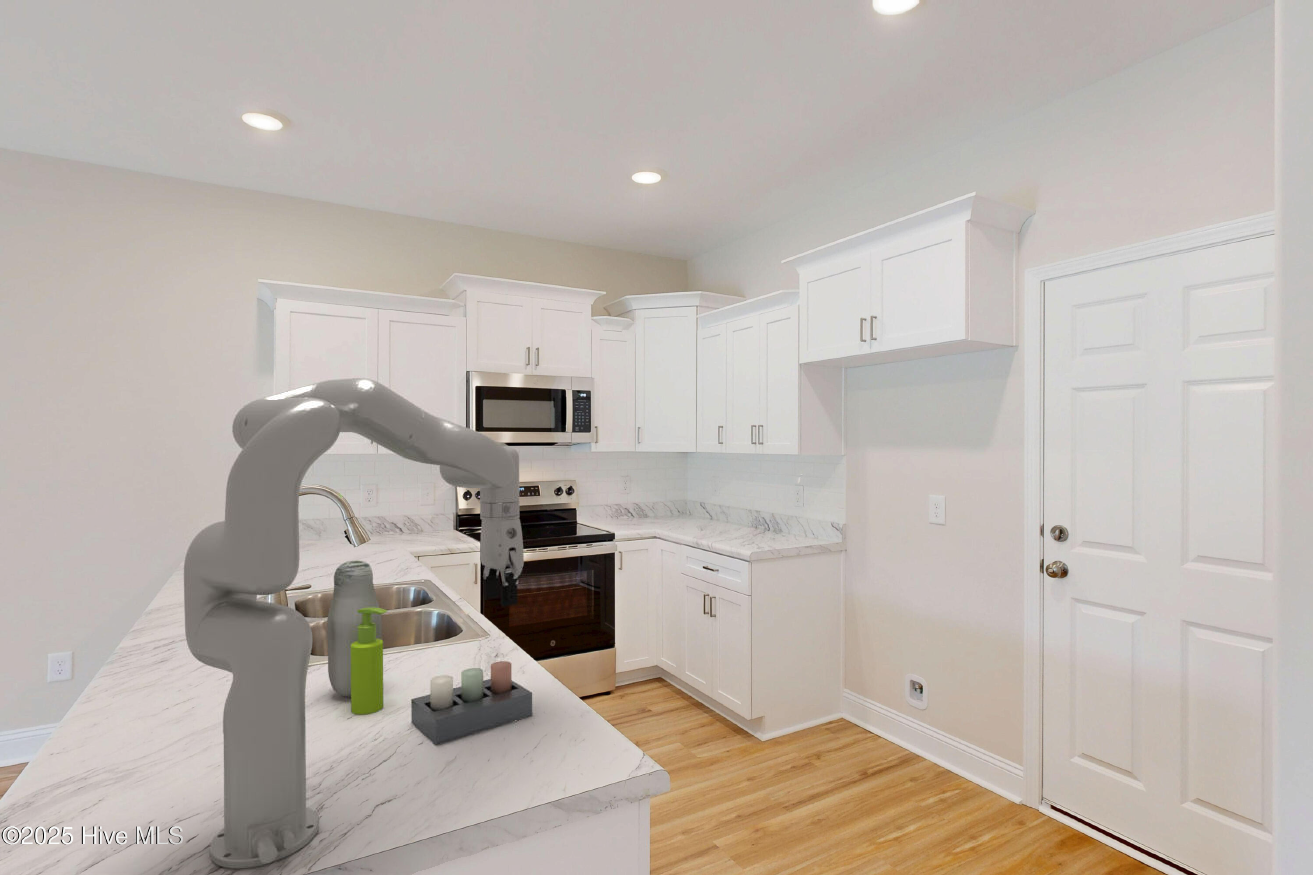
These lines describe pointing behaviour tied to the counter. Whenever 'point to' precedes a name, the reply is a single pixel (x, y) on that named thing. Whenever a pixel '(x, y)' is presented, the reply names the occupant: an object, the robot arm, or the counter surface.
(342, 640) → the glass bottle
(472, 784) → the counter surface
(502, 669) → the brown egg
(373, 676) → the soap dispenser
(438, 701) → the cream rounded cylinder
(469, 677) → the green piece
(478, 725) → the gray socket block
